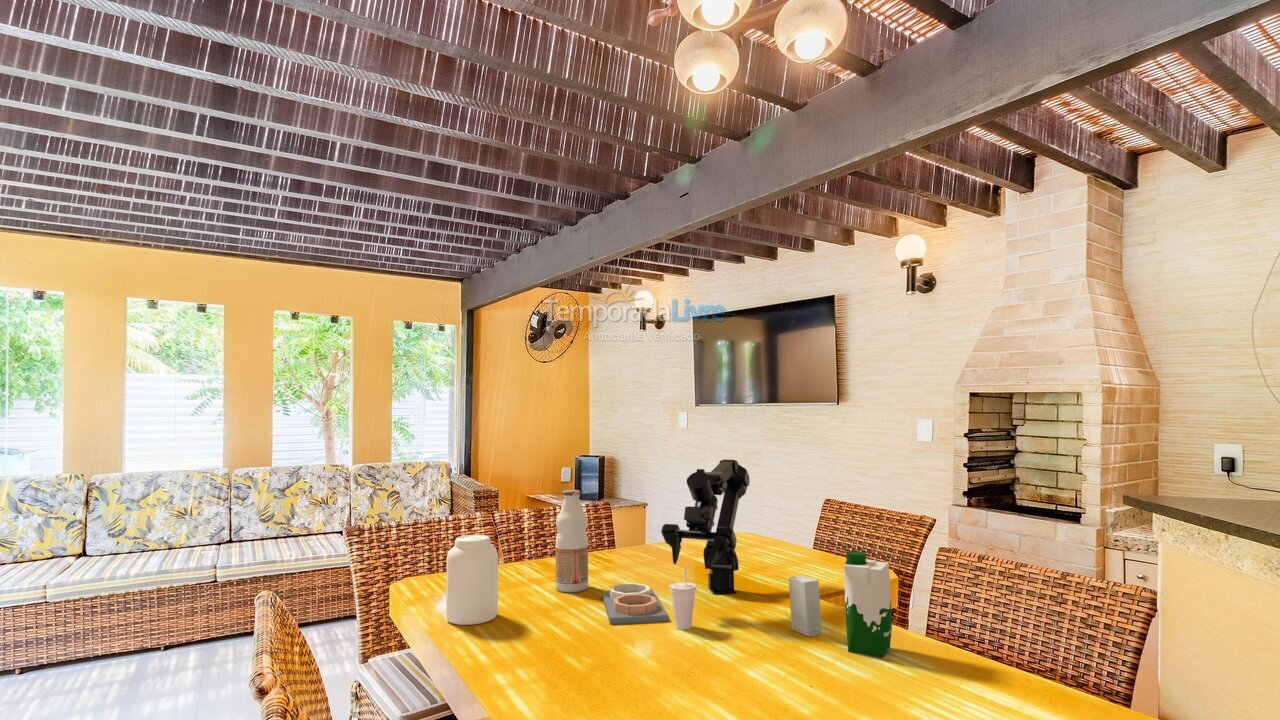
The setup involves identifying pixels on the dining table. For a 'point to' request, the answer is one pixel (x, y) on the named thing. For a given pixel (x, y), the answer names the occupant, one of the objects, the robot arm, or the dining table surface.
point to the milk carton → (867, 605)
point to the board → (632, 604)
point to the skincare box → (805, 605)
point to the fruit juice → (571, 545)
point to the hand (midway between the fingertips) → (691, 564)
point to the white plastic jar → (472, 581)
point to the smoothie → (683, 603)
